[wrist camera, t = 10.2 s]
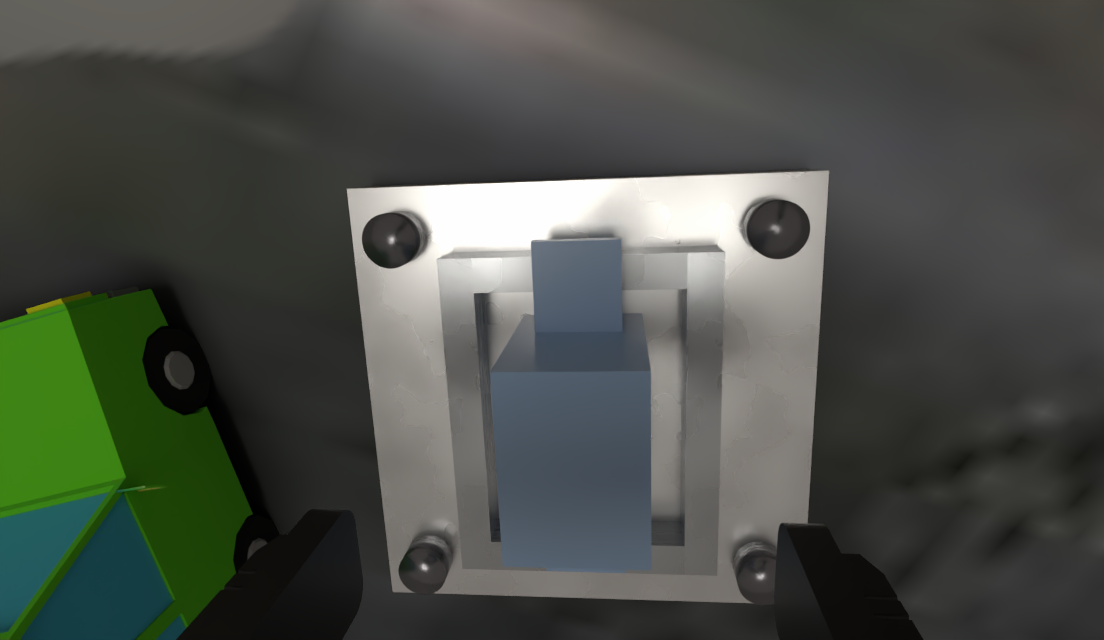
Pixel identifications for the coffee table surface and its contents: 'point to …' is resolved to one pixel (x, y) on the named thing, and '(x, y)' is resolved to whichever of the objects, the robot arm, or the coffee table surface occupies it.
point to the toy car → (112, 475)
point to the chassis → (674, 354)
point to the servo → (575, 418)
